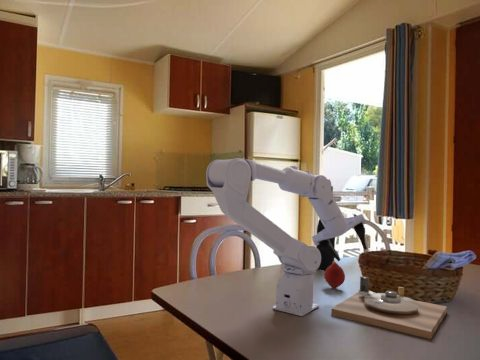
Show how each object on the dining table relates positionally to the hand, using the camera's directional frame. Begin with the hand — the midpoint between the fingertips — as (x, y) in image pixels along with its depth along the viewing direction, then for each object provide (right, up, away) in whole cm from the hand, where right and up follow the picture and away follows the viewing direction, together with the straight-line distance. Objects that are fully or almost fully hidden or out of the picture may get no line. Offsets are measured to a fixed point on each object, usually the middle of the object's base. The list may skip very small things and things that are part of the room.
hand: (351, 253), depth 104 cm
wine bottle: (0, -13, +35) cm, 37 cm away
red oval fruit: (-3, -12, +9) cm, 15 cm away
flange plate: (+5, -10, -10) cm, 15 cm away
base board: (+6, -12, -12) cm, 18 cm away
